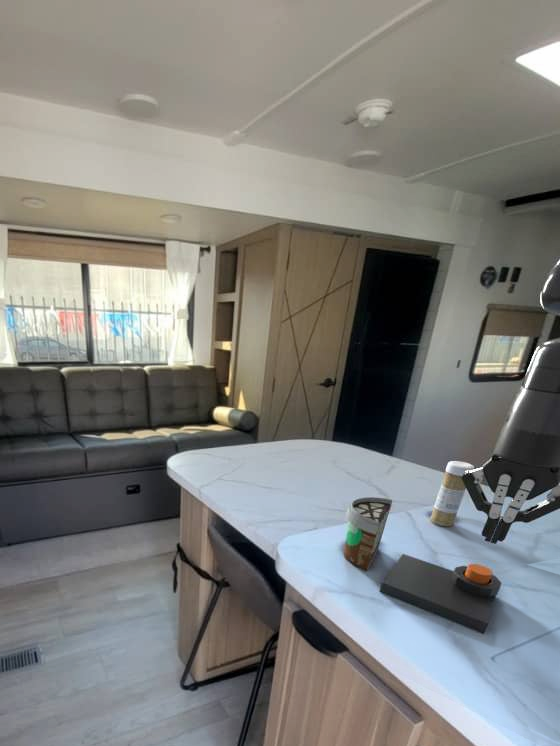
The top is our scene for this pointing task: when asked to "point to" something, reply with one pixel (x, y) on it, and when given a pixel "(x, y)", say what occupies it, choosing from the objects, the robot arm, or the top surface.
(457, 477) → the sprinkles bottle
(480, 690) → the top surface
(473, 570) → the button
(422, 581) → the scale
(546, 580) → the top surface
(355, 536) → the food container
